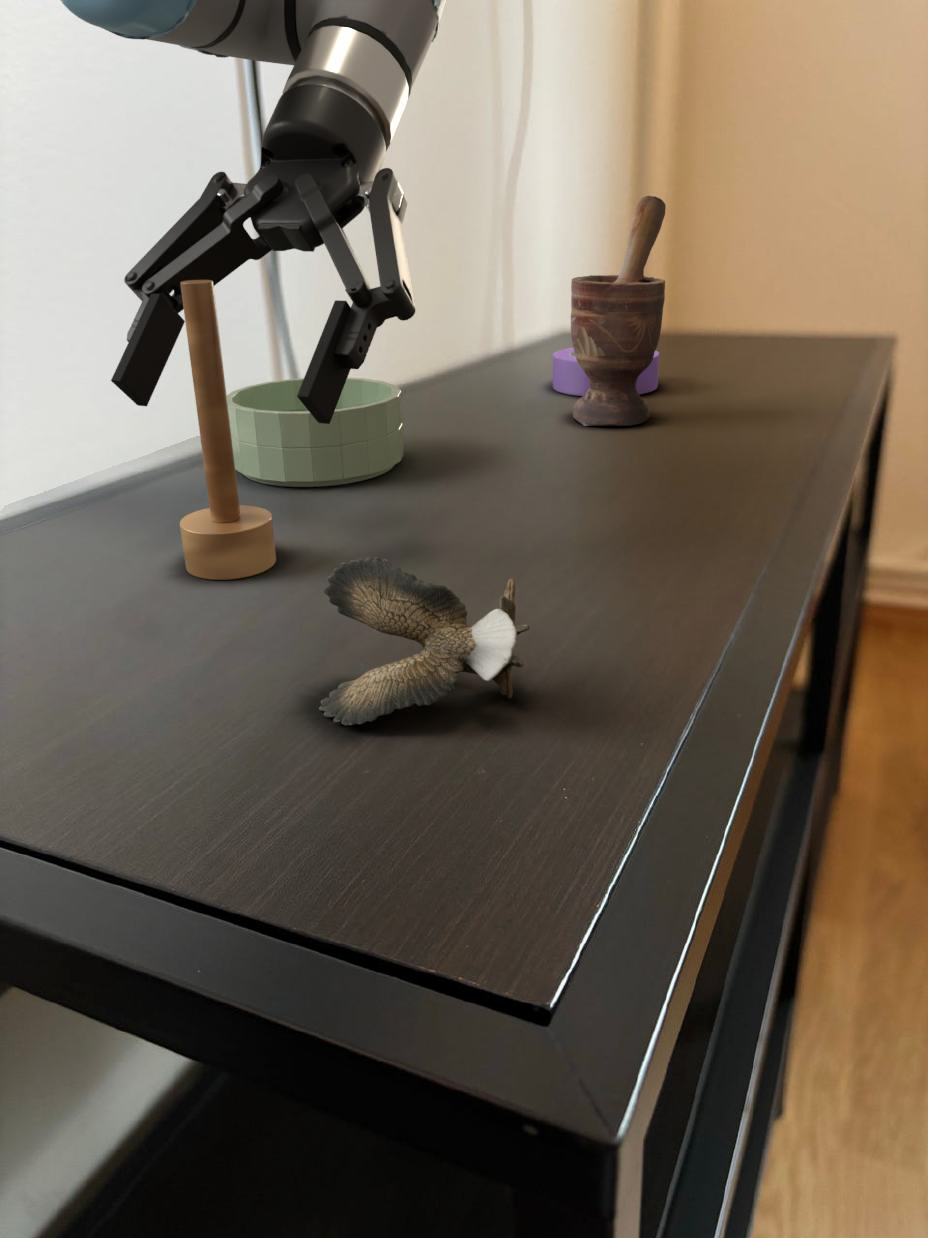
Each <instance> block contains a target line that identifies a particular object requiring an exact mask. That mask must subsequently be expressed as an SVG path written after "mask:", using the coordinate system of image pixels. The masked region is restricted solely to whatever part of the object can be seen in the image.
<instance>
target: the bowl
mask: <svg viewBox="0 0 928 1238" xmlns="http://www.w3.org/2000/svg"><path fill="white" fill-rule="evenodd" d="M303 380H304V377H302V378H301V377H300V378H288V379H281V380H272V381H266V382H261V383H256V384H252V385H248V386H244V387H241V388H239V389H236V390H233V391H231V392H230V393H228V394H226V395H227V404H228V412H229V421H230V430H231V438H232V447H233V455H234V464H235V471H237V472H239V473H240V474H242V475H243V476H244V477H245V478H247V479H249V480H251V481H254V482H257V483H261V484H265V485H271V486H277V487H289V488H317V487H318V488H319V487H320V488H321V487H331V486H332V487H333V486H339V485H340V486H341V485H347V484H352V483H358V482H362V481H366V480H369V479H374V478H376V477H379V476H381V475H384V474H386V473H387V472H390V471H391V470H392V469H393V468H394V466H395V465H397V464H399V463H400V462H402V460H403V457H404V454H405V449H404V448H405V447H404V446H405V445H404V427H403V425H404V424H403V405H402V403H403V401H402V390H401V389H400V388H399V387H398V385H395V384H393V383H392V384H391V383H389V382H386V381H383V380H377V379H371V378H364V377H363V378H361V377H347V380H346V382H345V385H344V388H343V390H342V393H341V395H340V398H339V401H338V403H337V406H336V408H335V411H334V414H333V416H332V419H331V421H330V424H324V423H318V422H317V420H316V419H315V418H314V417H313V416H312V414H311V413H310V412H309V411H308V409H307V408H306V407H305V406H304V405H303V403H302V402H301V401H300V400H299V398H298V397H297V395H298V392H299V390H300V387H301V385H302V382H303Z"/></svg>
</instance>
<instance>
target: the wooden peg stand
mask: <svg viewBox="0 0 928 1238" xmlns="http://www.w3.org/2000/svg"><path fill="white" fill-rule="evenodd" d="M180 284H181V292H182V300H183V307H184V309H183V315H184V321H185V323H184V324H185V330H186V337H187V345H188V354H189V361H190V368H191V376H192V377H191V378H192V383H193V384H192V385H193V390H194V391H193V392H194V398H195V407H196V414H197V421H198V430H199V438H200V445H201V452H202V459H203V467H204V477H205V484H206V492H207V498H208V505H209V507H206V508H202V509H200V510H196V511H194V512H191V513H189V514H187V515H185V516H183V517H182V518H181V520H180V522H179V531H180V537H181V543H182V551H183V557H184V564H185V569H186V571H187V572H188V574H190V575H191V576H193V577H196V578H198V579H205V580H213V581H227V580H229V581H230V580H238V579H243V578H248V577H252V576H256V575H259V574H261V573H264V572H265V571H268V570H269V569H271V568H272V567H274V566H275V564H276V562H277V553H276V542H275V534H274V524H273V515H272V513H271V512H270V510H267V509H265V508H264V507H260V506H254V505H248V504H247V505H246V504H240V499H239V490H238V481H237V474H236V470H235V464H234V455H233V447H232V438H231V430H230V421H229V412H228V404H227V395H228V394H227V387H226V380H225V379H226V378H225V372H224V362H223V353H222V345H221V337H220V328H219V327H220V326H219V320H218V311H217V303H216V295H215V293H216V292H215V286H214V284H213V281H212V280H188V281H182V282H181V283H180Z"/></svg>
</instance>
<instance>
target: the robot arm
mask: <svg viewBox="0 0 928 1238" xmlns="http://www.w3.org/2000/svg"><path fill="white" fill-rule="evenodd" d="M60 1H61V3H62V5H64V7H66V9H67V10H68V11H69V12H70V13H72V14H73V15H74V16H75V17H77V18H78V19H80V20H82V21H84V22H85V23H88V24H89V25H92V26H94V27H98V28H100V29H103V30H105V31H107V32H109V33H111V34H114V35H116V36H118V37H120V38H124V39H129V40H148V41H154V42H160V43H166V44H169V45H175V46H176V45H177V46H179V47H181V48H184V49H188V50H191V51H195V52H198V53H201V54H204V55H209V56H215V58H224V59H225V58H230V57H231V58H236V59H242V60H243V59H244V60H249V61H256V62H263V63H271V64H278V65H279V64H280V65H287V66H293V67H292V69H291V71H290V73H289V74H288V77H287V79H286V82H285V84H284V87H283V90H282V95H280V97H279V98H278V101H277V103H276V105H275V107H274V110H273V111H272V114H271V116H270V118H269V121H268V122H267V125H266V128H265V130H264V132H263V134H262V137H261V143H260V144H261V145H260V146H261V147H260V165H259V169H258V170H257V171H256V173H255V174H254V175H253V176H252V177H251V178H250V179H249V180H248V182H246V183H240V182H233V181H231V179H230V178H229V176H228V174H227V173H226V172H225V171H218V172H216V173H214V175H212V177H210V180H209V181H208V183H207V184H206V187H205V188H204V190H203V192H202V194H201V195H200V196H199V198H198V199H197V200H196V201H195V202H194V204H193V205H191V207H190V208H188V210H187V211H186V212H185V213H184V214H182V216H181V217H180V218H179V219H178V220H177V221H176V222H175V223H174V224H173V225H172V226H171V227H170V229H168V231H166V232H165V234H164V235H163V236H162V237H161V238H160V239H159V240H158V241H157V242H156V243H155V244H154V245H153V246H152V247H151V248H150V249H149V250H148V251H147V252H146V253H145V254H144V256H142V257H141V258H140V259H139V261H138V262H137V263H136V264H134V266H132V268H131V269H130V270H129V271H128V272H127V273H126V275H124V276H125V277H124V279H123V282H124V284H126V286H127V287H128V288H129V289H130V290H131V291H132V292H133V293H134V294H135V296H136V297H137V298H138V300H140V301H141V303H140V305H139V307H138V310H137V312H136V314H135V316H134V318H133V321H132V323H131V325H130V326H129V329H128V331H127V333H126V341H127V345H126V347H125V349H124V351H123V354H122V355H121V357H120V360H119V363H118V364H117V367H116V368H115V370H114V373H113V375H112V377H111V379H110V381H111V382H112V384H114V385H115V386H116V388H118V389H119V390H120V391H121V392H123V393H124V394H125V395H126V396H127V397H128V398H129V400H131V401H132V402H133V403H134V404H135V405H136V406H141V407H148V406H149V403H150V401H151V398H152V396H153V394H154V391H155V389H156V387H157V385H158V383H159V380H160V378H161V376H162V373H163V371H164V369H165V367H166V365H167V363H168V361H169V358H170V356H171V353H172V351H173V350H174V346H175V345H176V343H177V340H178V338H179V336H180V333H181V331H182V329H183V327H184V325H185V324H186V323H185V319H184V318H183V317H182V316H181V315H180V314H179V313H181V312H182V311H184V307H183V300H182V292H181V284H180V283H181V282H182V281H188V280H212V281H213V284H214V287H215V286H216V285H217V284H219V283H220V282H221V281H222V280H224V279H225V278H226V277H228V276H229V275H231V274H232V273H233V272H235V271H236V270H237V269H238V268H240V267H241V266H243V265H244V264H245V263H247V261H249V260H253V261H258V260H261V259H262V258H264V257H265V256H266V255H268V254H269V253H270V252H272V251H273V252H285V251H290V250H298V251H301V252H313V253H314V252H315V250H316V248H318V247H320V246H325V248H326V250H327V252H328V254H329V257H330V258H331V261H332V262H333V265H334V267H335V269H336V271H337V273H338V275H339V277H340V279H341V282H342V284H343V286H344V288H345V290H344V291H345V292H346V294H347V295H348V297H349V299H350V300H351V302H352V303H351V306H350V305H349V303H348V301H347V300H334V301H333V305H332V307H331V309H330V313H329V315H328V317H327V320H326V322H325V324H324V327H323V330H322V331H321V335H320V336H319V339H318V342H317V345H316V347H315V349H314V353H313V354H312V357H311V360H310V362H309V365H308V367H307V370H306V372H305V375H304V377H303V378H304V380H303V382H302V385H301V387H300V390H299V392H298V395H297V397H298V398H299V400H300V401H301V402H302V403H303V405H304V406H305V407H306V408H307V409H308V411H309V412H310V413H311V414H312V416H313V417H314V418H315V419H316V420H317V422H318V423H324V424H330V421H331V419H332V416H333V414H334V411H335V408H336V406H337V403H338V401H339V398H340V395H341V393H342V390H343V388H344V385H345V382H346V380H347V378H349V374H350V372H351V370H359V369H360V368H361V366H362V365H363V364H364V363H365V360H366V358H367V354H368V352H369V349H370V347H371V344H372V342H373V340H374V337H375V334H376V332H377V329H378V328H379V327H380V328H381V326H382V325H384V323H385V322H386V320H389V319H392V318H397V319H398V320H399V321H409V320H410V319H411V318H413V317H414V316H415V314H416V303H415V296H414V290H413V286H412V285H413V284H412V278H411V272H410V267H409V259H408V254H407V248H406V247H407V246H406V243H405V242H406V241H405V236H404V230H403V223H404V220H405V216H406V212H407V207H408V199H407V197H406V195H405V193H404V191H403V189H402V187H401V185H400V182H399V181H398V179H397V177H396V175H395V173H394V171H393V169H392V168H390V167H383V164H384V162H385V160H386V159H385V158H386V154H387V151H388V149H389V147H390V145H391V143H392V140H393V138H394V135H395V133H396V130H397V128H398V126H399V123H400V120H401V117H402V115H403V112H404V111H405V108H406V105H407V103H408V100H409V99H410V98H409V97H410V95H411V91H412V89H413V86H414V84H415V81H416V79H417V77H418V76H419V75H418V74H419V73H420V70H421V68H422V65H423V63H424V60H425V59H426V56H427V54H428V51H429V49H430V46H431V44H432V43H433V42H434V40H435V39H436V37H437V35H438V31H439V29H440V26H441V25H440V24H441V23H440V21H441V18H442V15H443V11H444V9H445V5H446V2H447V0H60ZM382 167H383V168H382ZM365 208H366V209H367V211H368V213H369V217H370V224H371V231H372V238H373V244H374V245H373V246H374V252H375V258H376V266H377V272H378V280H379V285H380V286H377V287H372V286H371V284H370V282H369V280H368V278H367V276H366V274H365V272H364V270H363V268H362V266H361V264H360V261H359V260H358V257H357V255H356V254H355V251H354V248H353V246H352V245H351V243H350V240H349V238H348V236H347V234H346V233H345V230H344V228H345V227H346V226H347V225H348V224H350V223H351V222H352V221H353V220H354V219H356V218H357V217H358V216H359V215H360V214H361V213H362V212H363V211H364V209H365ZM248 219H250V221H251V224H252V227H253V229H254V230H255V232H256V233H257V235H258V237H256V238H252V236H251V235H250V234H249V233H248V231H247V230H246V228H245V226H244V223H245V222H246V221H247V220H248ZM172 292H173V293H172ZM171 293H172V295H171Z"/></svg>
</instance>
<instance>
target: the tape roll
mask: <svg viewBox="0 0 928 1238" xmlns="http://www.w3.org/2000/svg"><path fill="white" fill-rule="evenodd" d="M659 369H660V352H659V351H657V349H656V350H655V353H654V357H653V360H652V362H651V364H650V365H649V366H648V367H647V368H646V369H645V370H644V371H643V372H642V373H641V374H640V375H639V376H638V378H637V381H636V390H637V392H638V394H639V395H644V394H647V393H651V392H653V391H655V390H657V389H658V386H659ZM589 388H590V384H589V378H588V376H587V375H586V374H585V372H584V371H583V369H582V368H581V367H580V365H579V364H578V362H577V360H576V355H575V351H574V347H569V348H563V349H559V350H557V351H555V352H554V353H553V354H552V389H554V390H555V391H556V392H558V393H561V394H565V395H569V396H576V397H583V396H585V394H586V391H588V389H589Z"/></svg>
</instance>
